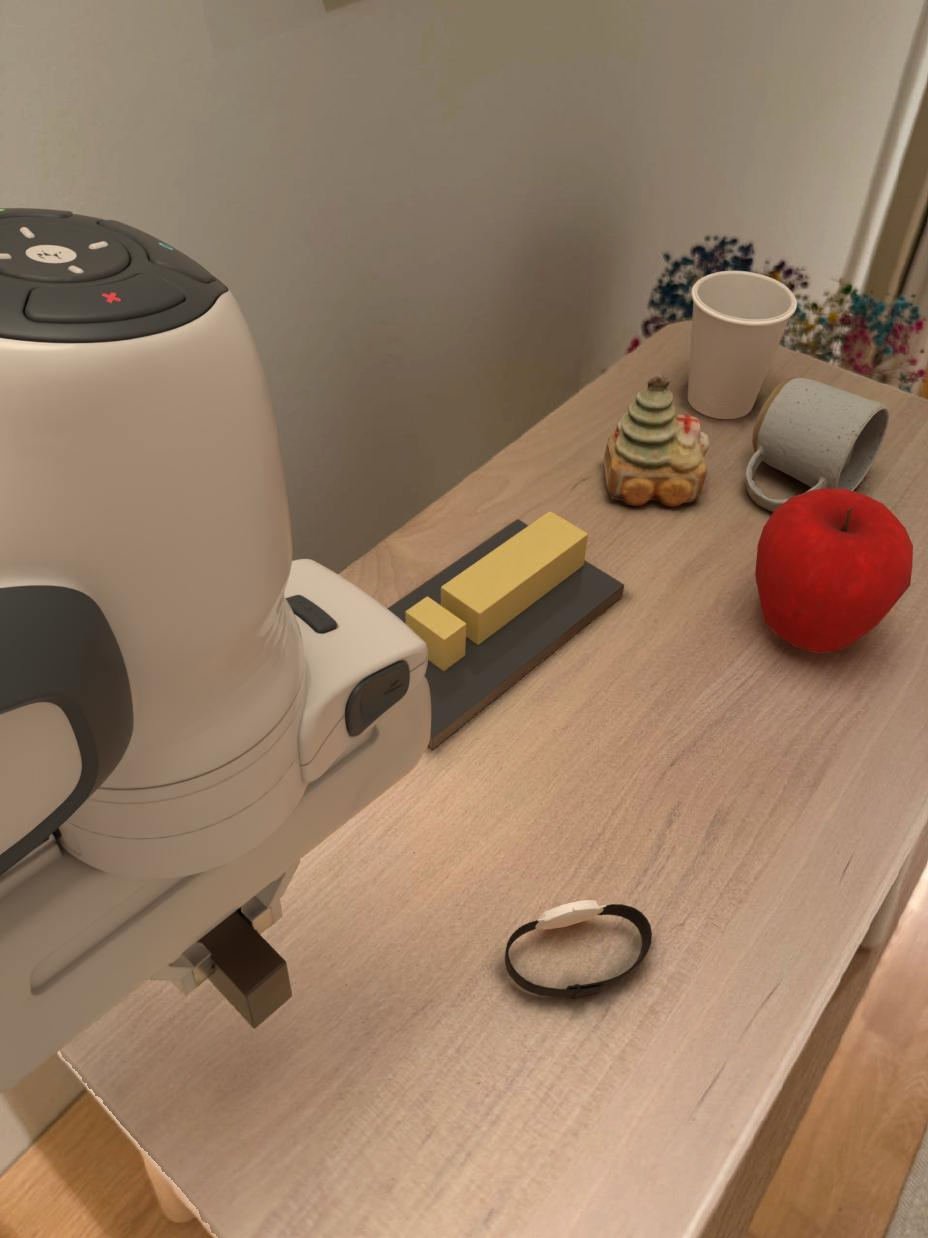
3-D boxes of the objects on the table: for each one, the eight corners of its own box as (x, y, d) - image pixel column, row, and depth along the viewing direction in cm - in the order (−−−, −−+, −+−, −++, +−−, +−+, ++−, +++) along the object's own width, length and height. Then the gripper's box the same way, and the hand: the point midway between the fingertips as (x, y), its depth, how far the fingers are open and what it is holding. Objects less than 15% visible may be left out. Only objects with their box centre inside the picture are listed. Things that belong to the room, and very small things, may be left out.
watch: (628, 906, 58) (638, 870, 55) (660, 986, 55) (672, 953, 52) (492, 936, 56) (495, 901, 54) (516, 1020, 53) (521, 988, 51)
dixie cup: (681, 366, 96) (701, 262, 89) (774, 384, 94) (803, 280, 87) (663, 416, 90) (683, 309, 83) (761, 437, 88) (791, 329, 81)
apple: (869, 701, 68) (926, 578, 61) (723, 657, 71) (759, 534, 63) (887, 602, 75) (940, 480, 67) (752, 565, 77) (788, 443, 70)
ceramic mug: (783, 431, 89) (806, 351, 84) (873, 472, 85) (903, 391, 80) (715, 490, 84) (735, 409, 78) (808, 537, 80) (835, 455, 74)
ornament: (693, 462, 86) (717, 353, 79) (709, 510, 82) (737, 400, 74) (595, 463, 85) (611, 354, 78) (607, 512, 81) (625, 402, 74)
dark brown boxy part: (254, 1030, 42) (245, 996, 40) (88, 847, 48) (72, 809, 46) (293, 996, 43) (287, 961, 41) (126, 821, 49) (113, 782, 47)
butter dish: (432, 750, 65) (432, 738, 64) (324, 664, 70) (323, 652, 69) (622, 596, 75) (624, 584, 74) (516, 530, 79) (517, 518, 79)
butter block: (478, 646, 69) (479, 613, 67) (439, 618, 71) (440, 586, 69) (584, 565, 75) (588, 533, 73) (546, 542, 77) (550, 510, 75)
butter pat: (443, 671, 68) (444, 639, 66) (405, 643, 69) (405, 611, 67) (465, 655, 69) (466, 623, 67) (427, 628, 70) (427, 595, 68)
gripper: (-104, 1030, 26) (34, 1205, 36) (463, 622, 37) (451, 842, 47) (-212, 873, 29) (-57, 1074, 39) (342, 538, 40) (355, 761, 50)
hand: (224, 944), depth 43 cm, fingers closed on dark brown boxy part, 2 cm apart
